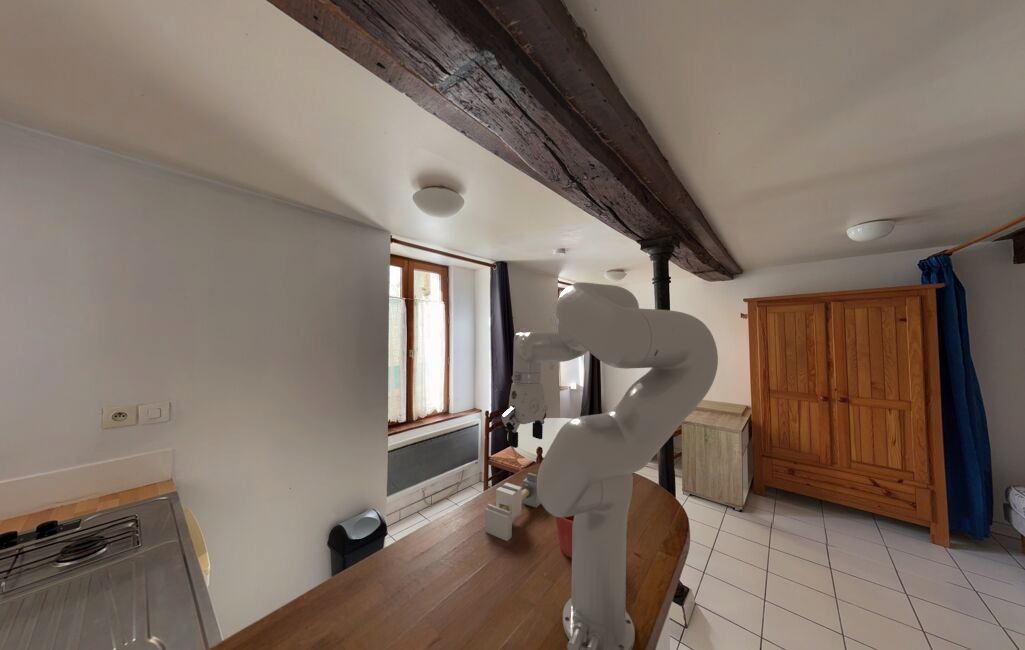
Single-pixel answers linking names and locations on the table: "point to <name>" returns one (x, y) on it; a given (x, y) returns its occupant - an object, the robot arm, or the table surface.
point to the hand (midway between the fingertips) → (525, 442)
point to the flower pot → (565, 534)
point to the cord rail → (502, 517)
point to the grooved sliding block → (510, 499)
